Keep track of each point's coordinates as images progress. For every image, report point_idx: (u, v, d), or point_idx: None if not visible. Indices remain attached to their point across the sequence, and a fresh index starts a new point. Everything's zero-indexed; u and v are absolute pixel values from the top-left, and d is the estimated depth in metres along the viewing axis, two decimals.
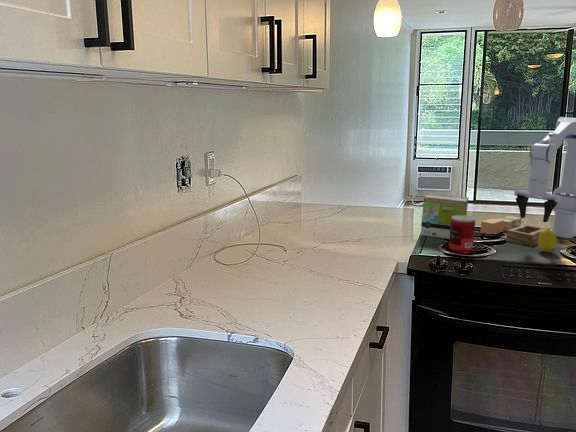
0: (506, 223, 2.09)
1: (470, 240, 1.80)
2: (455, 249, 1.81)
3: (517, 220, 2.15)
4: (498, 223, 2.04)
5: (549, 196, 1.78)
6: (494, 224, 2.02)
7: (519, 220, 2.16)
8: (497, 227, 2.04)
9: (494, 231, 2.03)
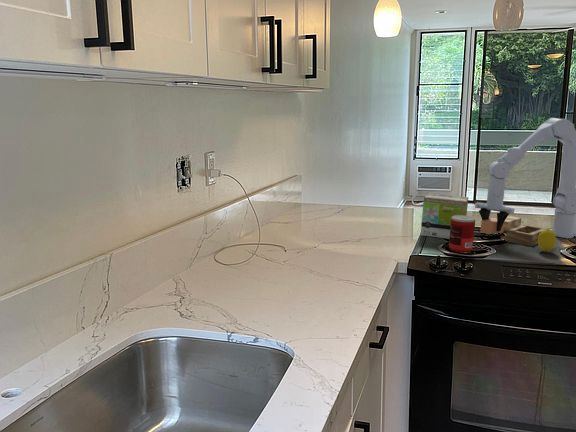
0: (506, 223, 2.09)
1: (470, 240, 1.80)
2: (455, 249, 1.81)
3: (517, 220, 2.15)
4: None
5: (504, 209, 2.00)
6: (494, 224, 2.02)
7: (519, 220, 2.16)
8: None
9: (494, 231, 2.03)
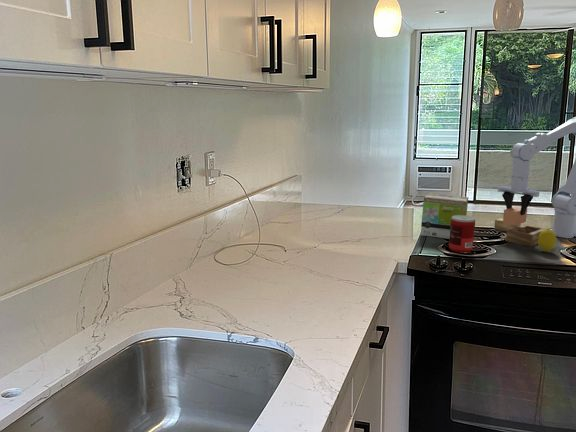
0: None
1: (470, 240, 1.80)
2: (455, 249, 1.81)
3: None
4: None
5: (529, 191, 1.94)
6: (517, 212, 1.96)
7: None
8: (520, 216, 1.98)
9: (517, 220, 1.97)
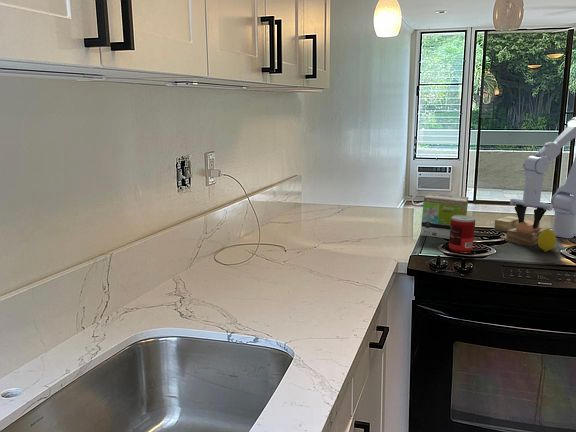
0: (506, 223, 2.09)
1: (470, 240, 1.80)
2: (455, 249, 1.81)
3: (517, 220, 2.15)
4: None
5: (542, 205, 1.92)
6: (530, 226, 1.94)
7: None
8: (532, 230, 1.96)
9: None
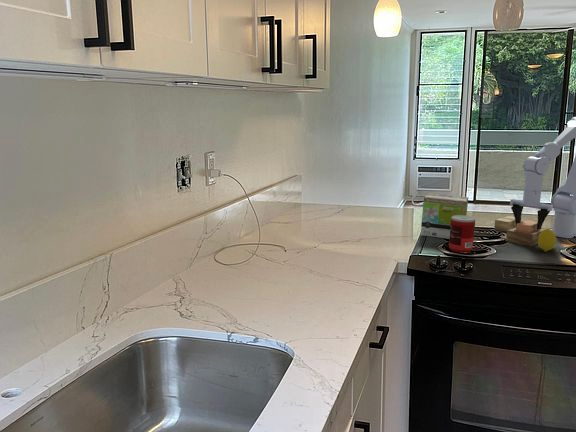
0: (506, 223, 2.09)
1: (470, 240, 1.80)
2: (455, 249, 1.81)
3: None
4: (534, 225, 1.96)
5: (542, 205, 1.92)
6: (530, 226, 1.94)
7: None
8: (533, 230, 1.96)
9: None
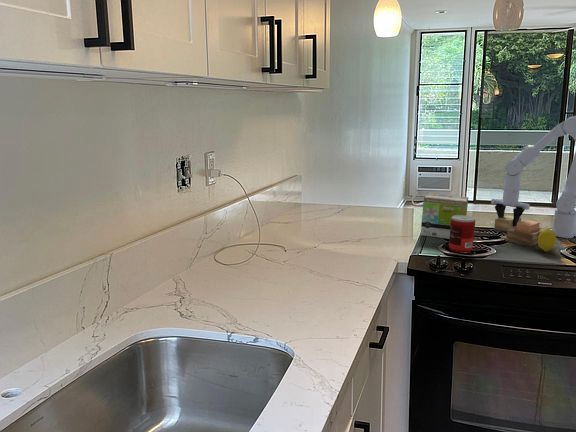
0: (506, 222, 2.09)
1: (470, 240, 1.80)
2: (455, 249, 1.81)
3: None
4: (534, 225, 1.96)
5: (520, 204, 2.09)
6: (530, 226, 1.94)
7: (519, 219, 2.16)
8: (533, 230, 1.96)
9: None
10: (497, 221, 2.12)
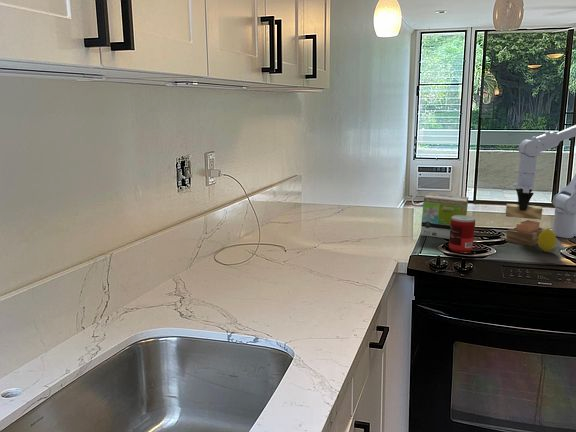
0: (506, 207, 2.03)
1: (470, 240, 1.80)
2: (455, 249, 1.81)
3: (532, 209, 2.00)
4: (534, 225, 1.96)
5: (521, 187, 1.97)
6: (530, 226, 1.94)
7: (537, 210, 1.99)
8: (533, 230, 1.96)
9: None
10: (506, 205, 2.06)
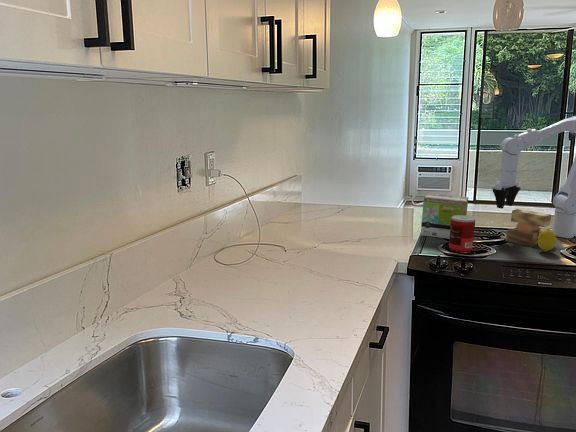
0: None
1: (470, 240, 1.80)
2: (455, 249, 1.81)
3: (535, 216, 1.93)
4: None
5: (497, 184, 2.00)
6: (530, 226, 1.94)
7: (540, 217, 1.92)
8: (533, 230, 1.96)
9: None
10: None
